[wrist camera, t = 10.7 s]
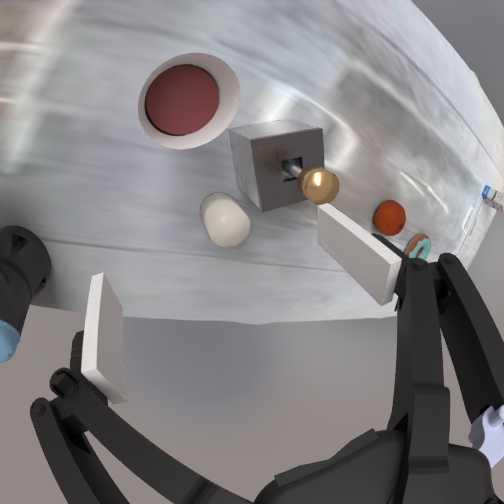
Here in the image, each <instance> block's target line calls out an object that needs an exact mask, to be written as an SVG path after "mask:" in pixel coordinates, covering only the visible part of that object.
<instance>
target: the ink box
mask: <svg viewBox="0 0 504 504" xmlns="http://www.w3.org/2000/svg"><path fill="white" fill-rule="evenodd" d="M482 196H483V199H484V202H485V203H486V204H488V205H489V206H491V207H493V208H494V209H496V210H498V211H499V212H501V213H502V214H504V195H503V194H502V193H500V192H498V191H496V190H494V189H492V188H491V187H489V186H487V185H486V186H485V189H484V191H483V193H482Z"/></svg>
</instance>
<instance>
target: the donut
mask: <svg viewBox="0 0 504 504" xmlns="http://www.w3.org/2000/svg"><path fill="white" fill-rule="evenodd" d="M430 248H431V241H430V239H429V237H428V236H427V235H425V234H419V235H416V236H415V237H414V238H413V239H412V240H411V241H410V242H409V243H408V245H407V247H406V249H405V252H404V253H405V254H406V255H407V256H409V257H410V258H421V259H424V260H425V259H426V258H427V256H428V254H429V251H430Z"/></svg>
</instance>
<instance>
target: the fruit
mask: <svg viewBox="0 0 504 504" xmlns="http://www.w3.org/2000/svg"><path fill="white" fill-rule="evenodd" d="M405 221H406V215H405V210H404V208H403V207H402V206H401V205H400V204H399V203H397V202H396V201H393V200H388V201H385V202H383V203H381V204H380V206H379V207H378V209H377V211H376V213H375V217H374V222H375V226H376V228H377V229H378V231H380V232H381V233H383V234H385V235H388V236H393V235H396V234H398V233H399V232H400V231H401V230H402V229H403V227H404V225H405Z"/></svg>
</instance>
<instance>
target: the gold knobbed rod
mask: <svg viewBox="0 0 504 504" xmlns="http://www.w3.org/2000/svg"><path fill="white" fill-rule="evenodd" d="M281 164H282V169H284V170H285V171H287V172H289V173H290V174H292V175H294V176H295V177H297V188H298V190H299V192H300V193H301V194H302V195H304V196H305V197H307V198H308V199H309V200H311V201H312V202H313V203H315V204H317V205H323V204H326V203H328V204H329V203H330V202H332V201H333V200H334V199H335V197H336V196H337V194H338V191H339V180H338V178H337V176H336V175H335V174H333V173H331V172H329V171H328V170H326V169H324V168H322V167H320V166H318V165H309V166H307V167H305V168H304V169H303V170H302V169H301V168H299V167H297V166H295V165H293V164H292V163H290V162H288V161H286V160H283V161H281Z"/></svg>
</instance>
